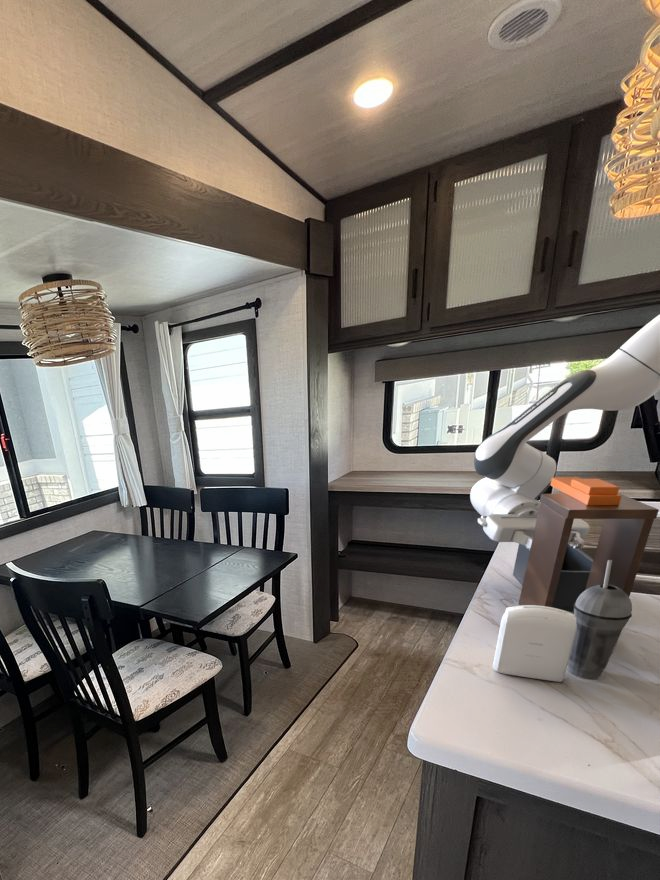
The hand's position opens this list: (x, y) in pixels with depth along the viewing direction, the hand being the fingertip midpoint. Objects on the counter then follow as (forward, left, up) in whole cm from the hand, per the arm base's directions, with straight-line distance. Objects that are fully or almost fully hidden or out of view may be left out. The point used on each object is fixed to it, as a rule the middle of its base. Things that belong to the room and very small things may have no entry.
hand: (557, 545), depth 94 cm
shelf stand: (+1, +12, -14) cm, 19 cm away
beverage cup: (+2, +25, -15) cm, 29 cm away
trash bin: (-5, -11, -14) cm, 19 cm away
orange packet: (+1, +6, +12) cm, 13 cm away
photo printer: (+11, +27, -15) cm, 33 cm away
